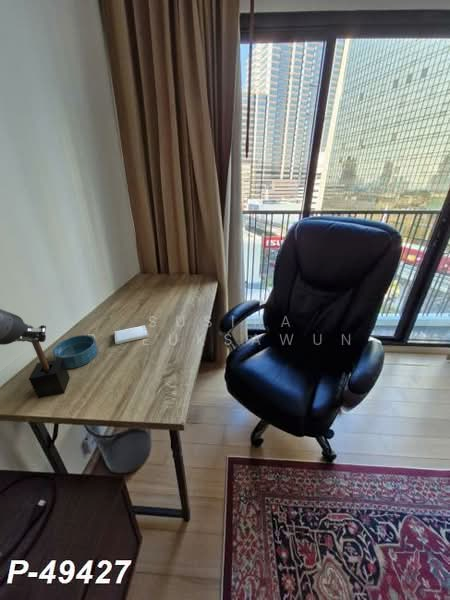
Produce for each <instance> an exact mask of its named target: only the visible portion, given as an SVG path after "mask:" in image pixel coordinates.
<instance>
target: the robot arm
mask: <svg viewBox="0 0 450 600" xmlns="http://www.w3.org/2000/svg"><path fill="white" fill-rule="evenodd" d="M46 329H47V325H45V324H43V325H40V326H37V327H34V326H32V325H29V324H28V323H25V322H24V320H23V318H22V317H21V316H19V315H18V314H15V313H12V312H10V311H7V310H5V309H2V308H0V345H3V346H5V345H9V344H12V343H16V342H28V343H32V342H31V340H35V341H39V343H44V342H45V341H46V338H47V335H46Z"/></svg>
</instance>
